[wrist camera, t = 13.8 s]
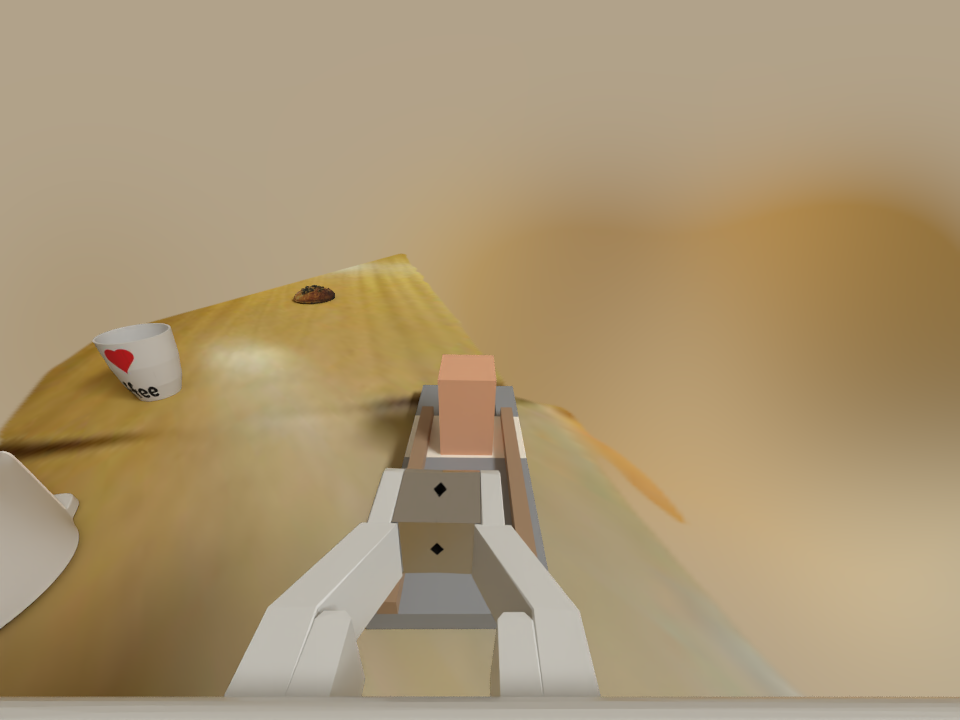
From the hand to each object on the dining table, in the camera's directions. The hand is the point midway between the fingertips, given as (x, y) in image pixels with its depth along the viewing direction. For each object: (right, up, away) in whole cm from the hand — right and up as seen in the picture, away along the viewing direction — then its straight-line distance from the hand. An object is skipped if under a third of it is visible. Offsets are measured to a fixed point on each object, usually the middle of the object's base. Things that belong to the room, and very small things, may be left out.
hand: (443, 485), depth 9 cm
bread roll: (-47, +21, +90) cm, 104 cm away
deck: (-1, -10, +30) cm, 31 cm away
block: (-1, -6, +33) cm, 33 cm away
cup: (-49, -2, +44) cm, 66 cm away
